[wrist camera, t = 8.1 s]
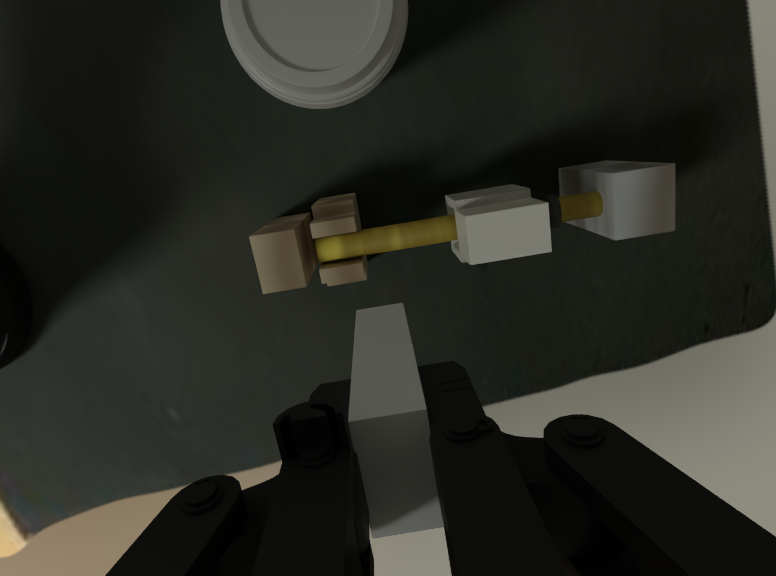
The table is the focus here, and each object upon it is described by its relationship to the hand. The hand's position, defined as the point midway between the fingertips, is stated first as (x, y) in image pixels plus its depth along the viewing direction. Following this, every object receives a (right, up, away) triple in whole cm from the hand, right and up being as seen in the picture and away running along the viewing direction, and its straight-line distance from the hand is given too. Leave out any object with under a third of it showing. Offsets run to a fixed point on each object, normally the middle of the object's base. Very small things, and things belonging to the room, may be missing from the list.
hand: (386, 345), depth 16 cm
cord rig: (+5, +8, +25) cm, 27 cm away
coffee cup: (-4, +20, +22) cm, 30 cm away
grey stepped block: (+7, +7, +21) cm, 23 cm away
